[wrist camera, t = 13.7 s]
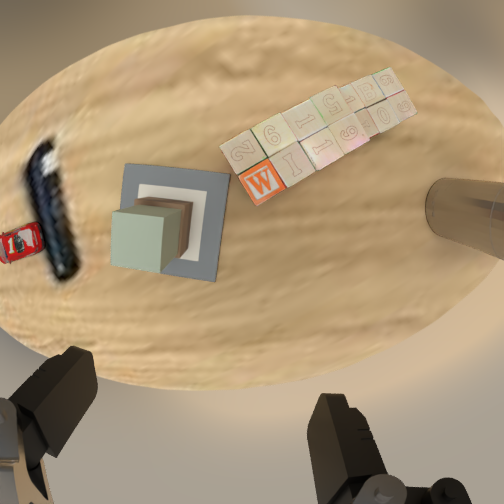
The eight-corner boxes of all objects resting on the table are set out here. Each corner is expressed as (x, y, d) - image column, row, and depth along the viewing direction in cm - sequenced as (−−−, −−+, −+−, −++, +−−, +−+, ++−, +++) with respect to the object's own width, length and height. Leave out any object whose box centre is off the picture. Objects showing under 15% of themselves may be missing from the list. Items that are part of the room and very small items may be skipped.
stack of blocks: (362, 87, 33) (404, 57, 21) (384, 126, 34) (434, 109, 22) (226, 157, 35) (217, 145, 23) (252, 199, 36) (255, 207, 24)
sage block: (181, 209, 30) (163, 217, 24) (177, 253, 32) (159, 273, 25) (139, 204, 30) (112, 211, 23) (136, 247, 31) (110, 265, 25)
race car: (6, 262, 38) (-8, 269, 34) (-1, 234, 37) (-15, 239, 33) (49, 251, 38) (35, 258, 34) (42, 218, 36) (27, 222, 32)
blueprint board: (230, 174, 35) (227, 172, 30) (215, 279, 39) (210, 296, 33) (127, 163, 35) (108, 161, 29) (120, 263, 38) (101, 277, 32)
